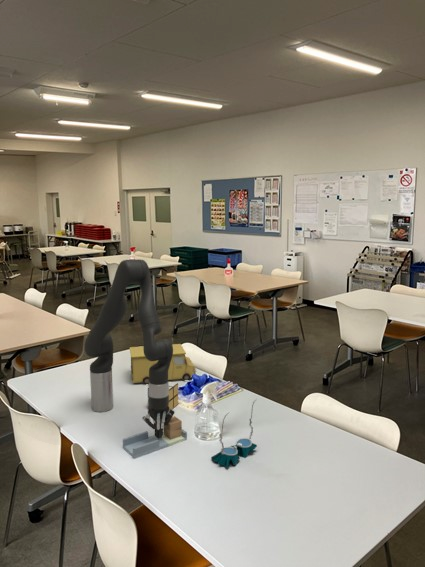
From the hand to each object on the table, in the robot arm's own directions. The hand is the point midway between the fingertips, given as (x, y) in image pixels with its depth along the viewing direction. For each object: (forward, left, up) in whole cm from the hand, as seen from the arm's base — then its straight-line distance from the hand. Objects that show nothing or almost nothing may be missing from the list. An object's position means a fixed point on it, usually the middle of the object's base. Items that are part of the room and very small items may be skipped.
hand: (158, 437), depth 169 cm
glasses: (+24, +17, -2) cm, 30 cm away
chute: (0, -1, -2) cm, 3 cm away
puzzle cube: (-26, +17, -2) cm, 31 cm away
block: (0, +6, -1) cm, 6 cm away
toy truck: (-57, +35, -2) cm, 67 cm away
